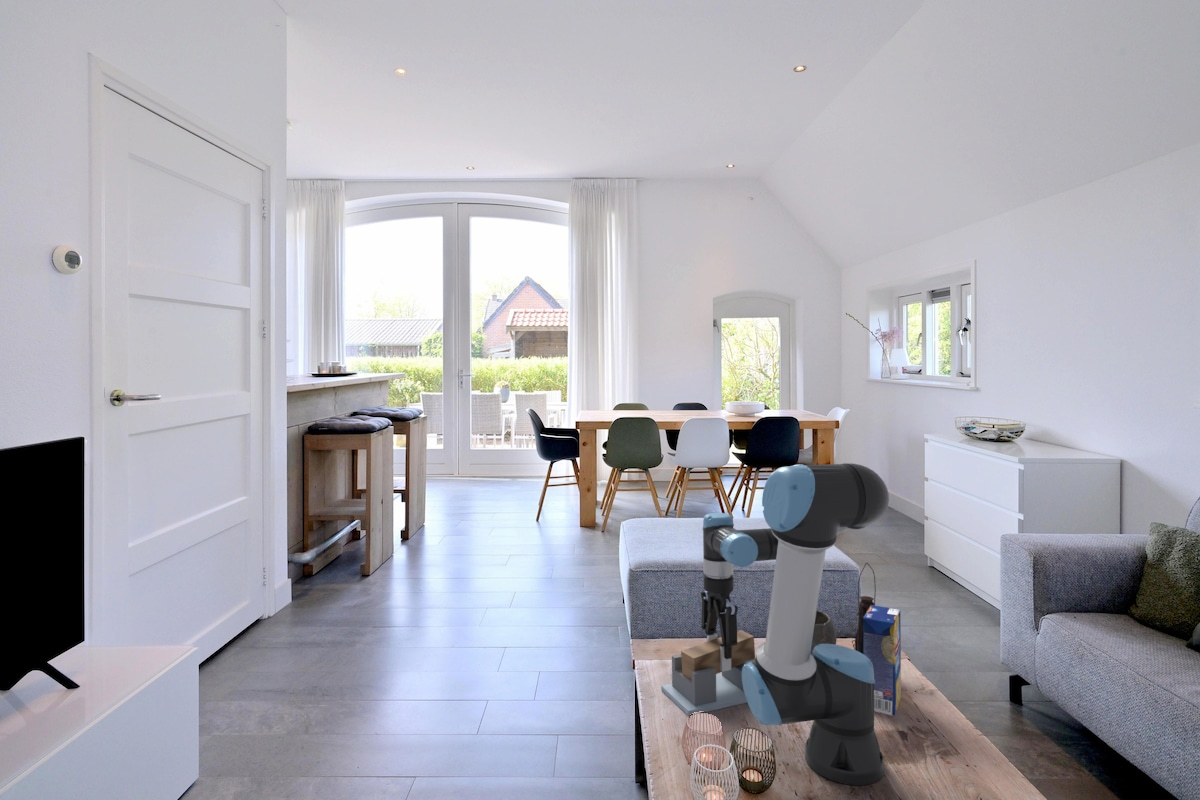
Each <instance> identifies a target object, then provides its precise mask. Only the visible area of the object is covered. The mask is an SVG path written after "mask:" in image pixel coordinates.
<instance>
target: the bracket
mask: <svg viewBox="0 0 1200 800" xmlns="http://www.w3.org/2000/svg"><path fill="white" fill-rule="evenodd" d="M749 662H752V663H753V662H755V659H753V660H748V661H744V663H743V664H741V665H738V666H736V667H733V668H731V670H727V671H723V672H720V673H718V674H716V669H714V668H708V669H703V670H698V671H693V672H691V673H692V680H690V679H689V678H687V677H686V676H684V675H682V659H681V653H680V654H674V655H671V683H667V684H663V685H661V686H660V689H661V690H660V691H662V693H663V694H664V695H666V696H667V697H668V698H669V699H670V700H671V701H672V702H673V703H674V704H675V705H676V706H677V707H679V709H681V710H682V711H683V713H684V714H686V715H687V716H688V717H690V716H689V715H690V714H692V713H694V712H699V711H705V712H704V713H707V712H708V713H709V712H711V711H715V710H717V711H718V710H719V709H720V710H721V709H724V708H730V707H733V706H739V705H743V704H748V702H747V700H746V696H745V693H744V689H743V683H742V668H743V666H744V665H745V664H747V663H749Z"/></svg>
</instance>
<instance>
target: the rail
mask: <svg viewBox="0 0 1200 800" xmlns="http://www.w3.org/2000/svg"><path fill="white" fill-rule="evenodd" d="M720 644H722V638H721V636H719V637H718V638H717V639H714V640H711V641H708V642H707V641H705V642H703V643H700V644H697V645H695V646H692V647H689V648H685V649H683V650H681V651H680V654H681V659H682V675H684V676H686V677H687V678H689V679H690V680H692V673H691V672H693V671H698V670H703V669H708V668H714V669H716V674H720V673H722V671H721V670H720ZM755 649H756V647H755V636H754V635H752V634H750V633H748V632H746V631H744V630H742V629H739V630H737V645H733V646H732V657H731V668H733V667H736V666H738V665H741V664H743V663H744V661H748V660H753V659H755V658H756V650H755Z"/></svg>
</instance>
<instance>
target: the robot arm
mask: <svg viewBox="0 0 1200 800" xmlns="http://www.w3.org/2000/svg"><path fill="white" fill-rule="evenodd" d="M889 495H890V494H889V490H888V487H887V484H886V483H885V481H884V480H883V478H881V476H880V475H879V474H878V473H877V472H876V471H874V470H873V469H871V468H870V467H868V466H865V465H862V464H857V463H851V462H850V463H849V462H848V463H845V462H844V463H831V464H830V463H827V464H824V463H823V464H803V463H801V464H800V463H799V464H794V465H790V466H787V465H786V466H781V467H778V468H777V469H775V470H773V472H771V474H770V475H769V476H768V478H767V480H766V482H765V484H764V487H763V492H762V497H761V499H762V500H761V506H762V507H763V510H762V514H763V518H764V520H765V522H766V524H767V525H768V527H770V528H753V529H736V528H734V525H735V524H734V518H733V516H732V515H731V514H729V513H725V512H711V513H707V514H705V515H704V516H703V521H702V524H703V525H702V536H703V537H702V539H703V540H702V541H703V543H702V545H703V546H702V547H703V564H702V566H703V569H702V571H703V572H702V573H703V574H704V575H703V589H704V591H701V592H700V596H701V598H700V599H701V629H702V630H703V631H704V633H705V635H706V642H708V641H711V640H714V639H717V638H719V637H718V636H719V635H718V634H717V633H719V632H718V630H717V625H718V623H719V628H720V629H719V631H720V637H721V638H722V644H720V670H721V671H722V672H723V671H727V670H731V657H732V646H733V645H737V631H738V622H737V621H738V620H737V618H738V617H737V614H738V610H739V609H738V605H737V604H735V605H733V604H732V603H731V596H730V594H731V593H732V592H733V591H734V588H735V587H734V584H735V583H734V580H735V579H734V575H733V574H734V566H736V567H739V568H747V567H749V566H750V565H752V564H754V562H763V561H764V562H765V561H775V563H774V564H775V565H774V572H773V581H772V588H771V596H770V604H769V612H768V619H767V627H766V635H765V642H763V643H761V644H760V645H759V646H758V647H757V649H756V650H755V662H753V663H752V662H749V663H747V664H745V665H744V666H743V668H742V683H743V689H744V693H745V696H746V700H747V704H748V707H749V710H750V711H751V713H752V715H753V717H754V719H756V721H758V723H760V724H762V725H764V726H782V725H788V724H796V723H802V722H803V723H804V722H810V721H813V722H812V724H811V727H810V728H811V729H810V732H809V736H808V738H807V740H806V742H805V749H804V750H805V751H804V752H805V754H804V755H805V756H804V757H805V761H806V763H807V764H808V766H809V767H810V768H811V769H812V770H813V771H814V772H815V773H817V774H818V775H820V776H821V777H824V778H825V779H828V780H830V781H833V782H835V783H836V782H837V783H839V784H843V785H852V786H865V785H870V784H874V783H876V782H878V781H880V780H881V779H882V777H883V776H884V774H885V763H884V762H885V760H884V756H883V753H882V751H881V748H880V744H879V741H878V737H877V735H876V732H875V711H874V683H875V679H874V670H873V664H872V662H871V661H870V659H869V658H868V657H866V656H865V655H864V654H862V653H860V652H858V651H856V650H854V648H850V647H847V646H843V645H839V644H836V645H835V644H819V645H817V646H815V647H814V650H813V655H814V656H812V655H811V654H810V652H811V645H812V638H813V632H814V625H815V618H816V612H817V610H818V606H819V598H820V590H821V584H822V578H823V570H824V564H825V557H826V553H827V551H826V550H828V549H830V548H833V546H834V545H836V542H837V537H838V535H839V534H842V533H844V532H845V531H848V530H850V529H851V530H855V531H856V530H861V529H864V528H866V527H869V526H871V525H873V524H874V523H877V522H878V521H879V520H880V519H881V518H882V517H884V515H885V514H886V512H887V510H888V507H889V504H890V503H889V502H890V499H889V498H890V496H889ZM722 672H721V673H722Z"/></svg>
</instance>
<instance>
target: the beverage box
mask: <svg viewBox="0 0 1200 800" xmlns="http://www.w3.org/2000/svg"><path fill="white" fill-rule="evenodd" d="M901 636H902V635H901V609H900V608H899V609H898V608H893V607H886V606H880V605H876V604H875V605H871V606H870V607H869V609H868V611H867V612H866V614H865V616H864V617H863V654H864V655H865V656H866V657H868V658H869V659H870V661H871V662H872V664H873V670H874V679H875V683H874V712H877V713H880V712H881V713H880V714H883V715H884V714H885V715H887V716H888V715H889V716H893V717H896V713H897V710H898V708H899V707H898V706H899V703H900V700H901V697H902V696H901V695H902V694H901V693H902V691H901V689H902V688H901V687H902V677H901V676H902V674H901V673H902V672H901V668H902V665H901V664H902V663H901V662H902V660H901V659H902V658H901V656H902V655H901V652H902V651H901V650H902V648H901V642H902V641H901Z"/></svg>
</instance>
